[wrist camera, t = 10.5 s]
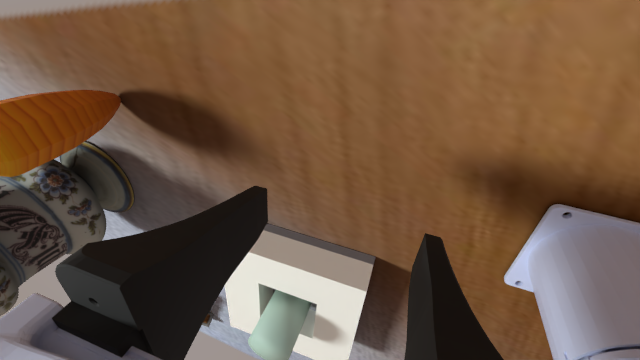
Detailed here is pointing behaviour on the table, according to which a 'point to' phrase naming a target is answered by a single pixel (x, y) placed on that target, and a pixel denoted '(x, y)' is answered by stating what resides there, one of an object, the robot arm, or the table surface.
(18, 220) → the apothecary jar
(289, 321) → the peg
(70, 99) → the carrot
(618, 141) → the table surface
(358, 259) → the socket block
